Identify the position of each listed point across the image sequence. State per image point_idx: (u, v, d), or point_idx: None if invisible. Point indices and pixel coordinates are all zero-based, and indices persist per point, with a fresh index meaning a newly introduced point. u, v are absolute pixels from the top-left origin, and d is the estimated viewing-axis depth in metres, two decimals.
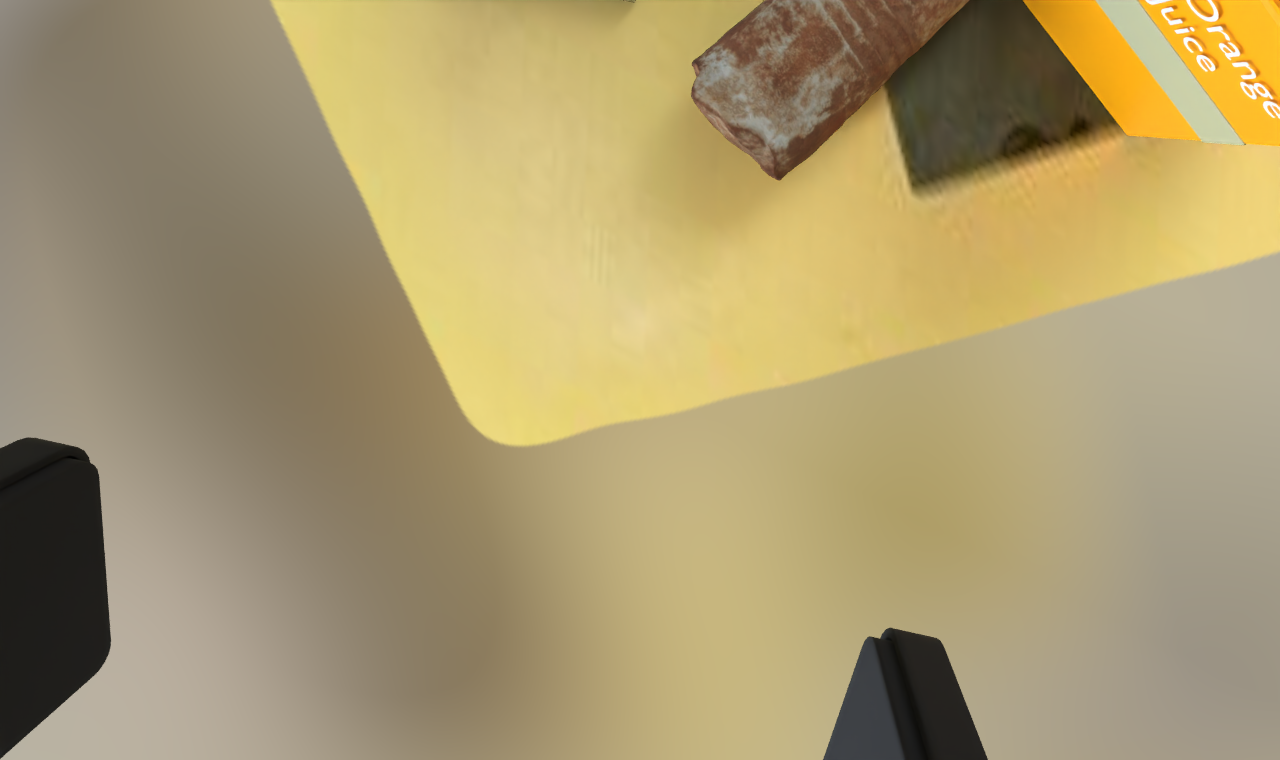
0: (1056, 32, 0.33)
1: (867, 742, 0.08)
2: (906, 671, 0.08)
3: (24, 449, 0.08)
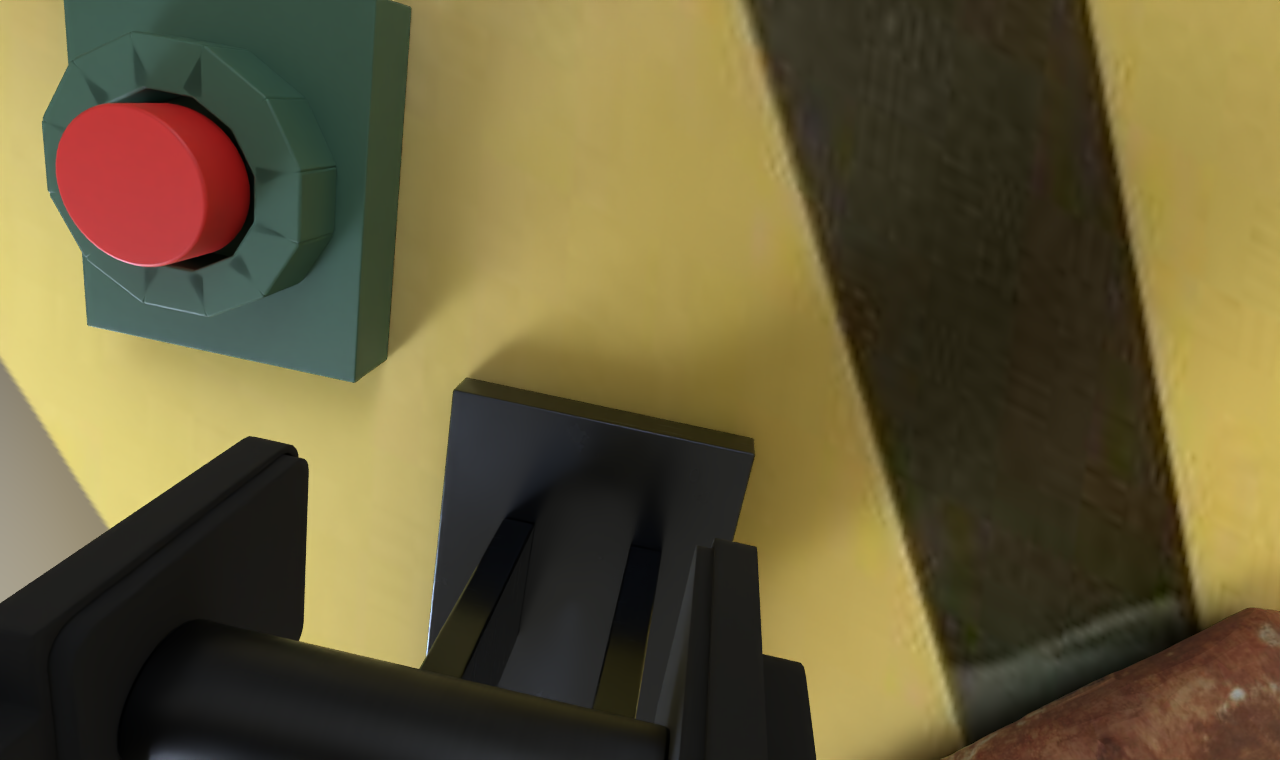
0: None
1: (682, 631, 0.09)
2: (715, 568, 0.09)
3: (252, 446, 0.09)
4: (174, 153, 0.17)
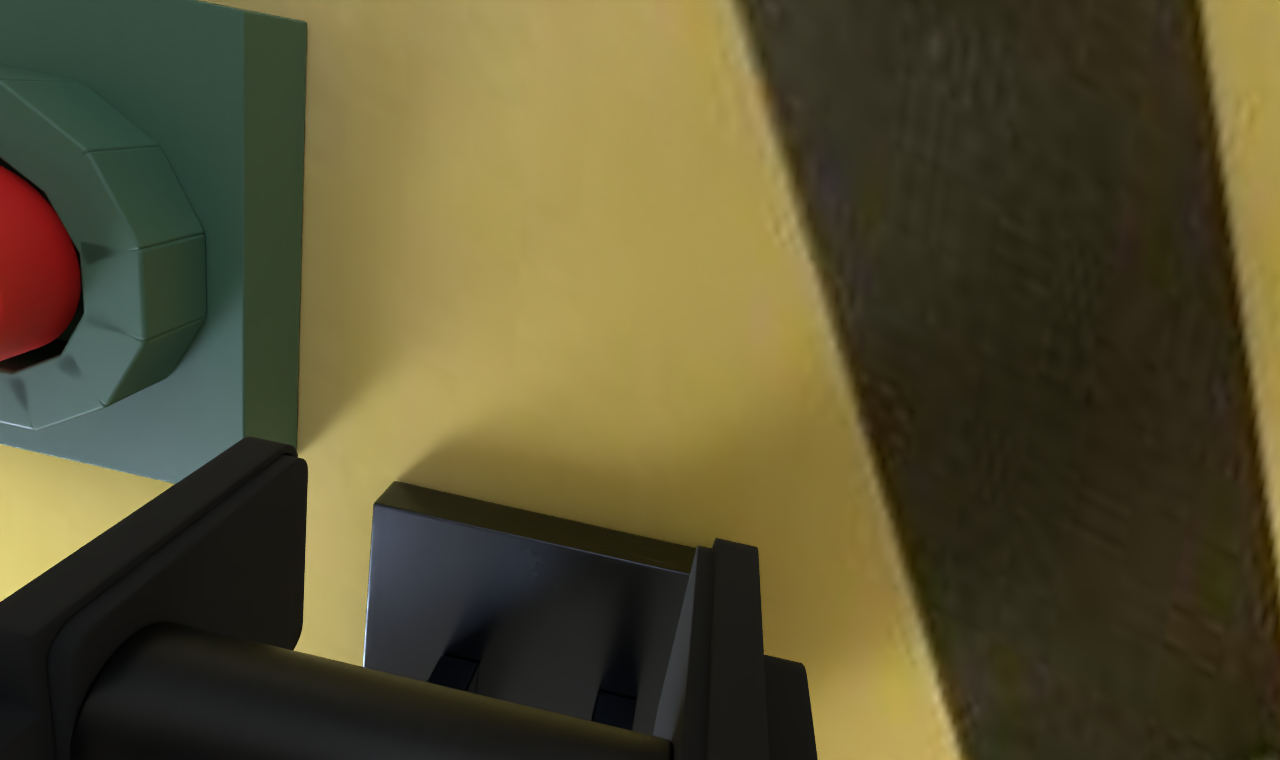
0: None
1: (683, 631, 0.09)
2: (716, 569, 0.09)
3: (252, 447, 0.09)
4: None
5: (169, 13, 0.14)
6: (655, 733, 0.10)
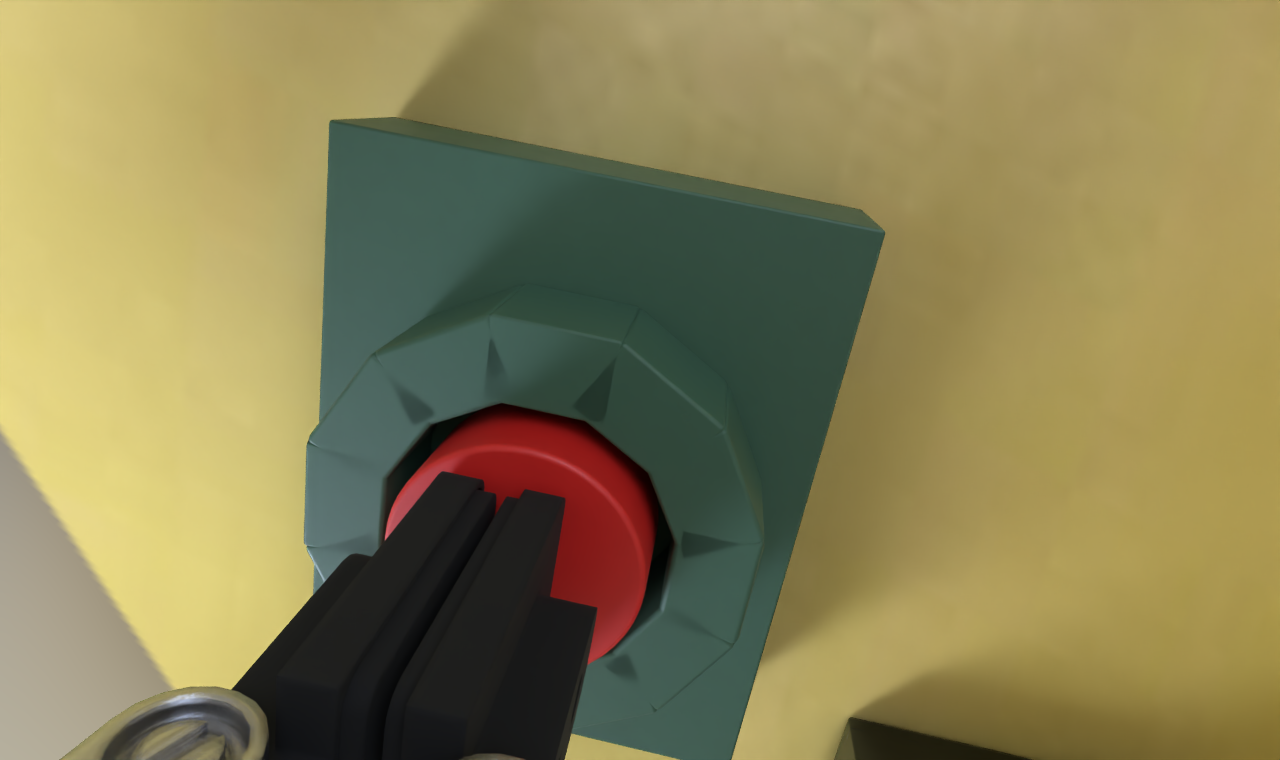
0: None
1: None
2: (512, 515, 0.09)
3: (450, 482, 0.09)
4: (602, 525, 0.10)
5: (782, 231, 0.11)
6: None
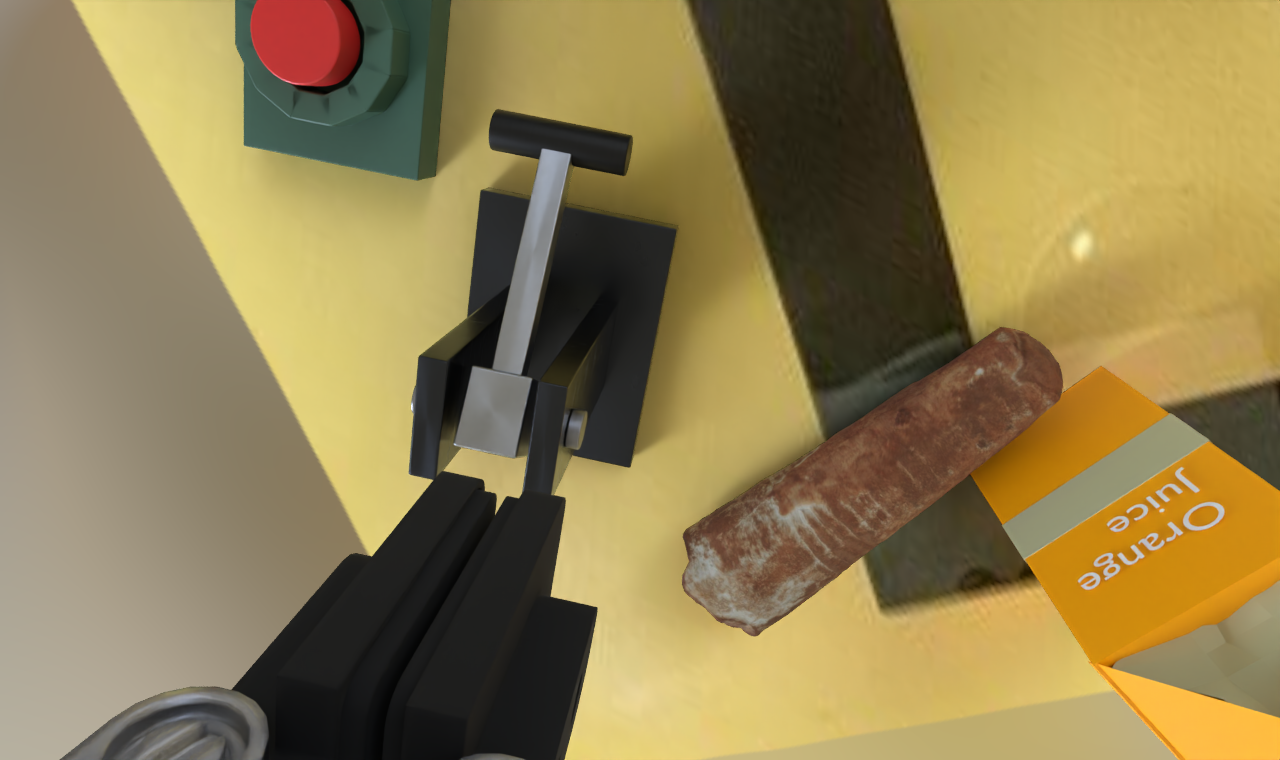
0: None
1: None
2: (512, 515, 0.09)
3: (450, 482, 0.09)
4: (323, 12, 0.29)
5: None
6: None
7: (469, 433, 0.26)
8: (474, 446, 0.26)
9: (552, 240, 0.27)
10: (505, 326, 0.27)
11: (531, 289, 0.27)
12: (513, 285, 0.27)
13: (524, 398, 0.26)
